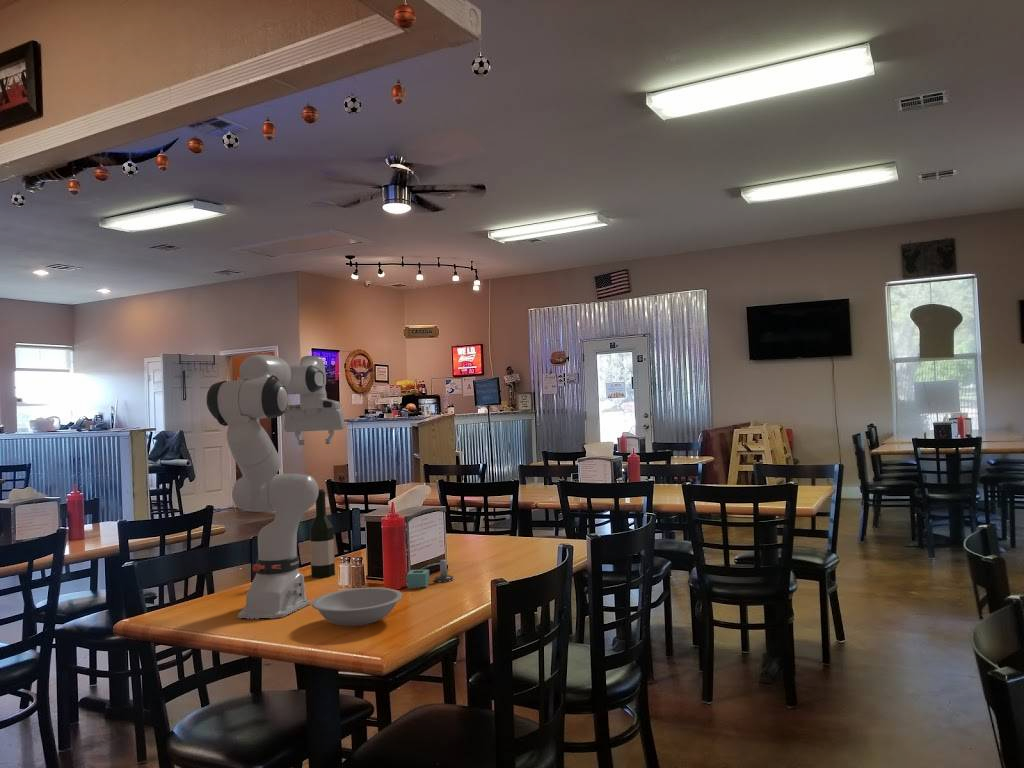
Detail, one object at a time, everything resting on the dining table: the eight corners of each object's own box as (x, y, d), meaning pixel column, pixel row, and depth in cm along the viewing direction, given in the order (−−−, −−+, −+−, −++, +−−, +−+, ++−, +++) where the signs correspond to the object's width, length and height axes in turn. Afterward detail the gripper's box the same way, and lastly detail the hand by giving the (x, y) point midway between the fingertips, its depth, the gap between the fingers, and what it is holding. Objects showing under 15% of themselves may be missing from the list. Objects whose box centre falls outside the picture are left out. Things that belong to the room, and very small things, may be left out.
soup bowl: (364, 606, 219) (363, 583, 219) (421, 618, 204) (420, 593, 204) (293, 627, 201) (292, 602, 201) (351, 642, 185) (350, 615, 186)
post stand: (451, 582, 245) (450, 562, 245) (433, 582, 245) (432, 562, 245) (454, 577, 250) (453, 558, 251) (436, 578, 251) (435, 558, 251)
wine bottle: (331, 577, 259) (328, 490, 260) (307, 578, 259) (304, 491, 260) (338, 572, 268) (334, 487, 268) (314, 573, 268) (311, 488, 269)
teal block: (426, 587, 238) (425, 573, 238) (407, 588, 239) (406, 574, 239) (429, 583, 244) (429, 569, 244) (411, 583, 245) (410, 569, 245)
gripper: (280, 405, 254) (281, 446, 254) (339, 402, 252) (341, 443, 252) (287, 405, 260) (288, 445, 260) (345, 402, 259) (346, 442, 258)
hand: (314, 444), depth 256 cm, fingers open, 8 cm apart
